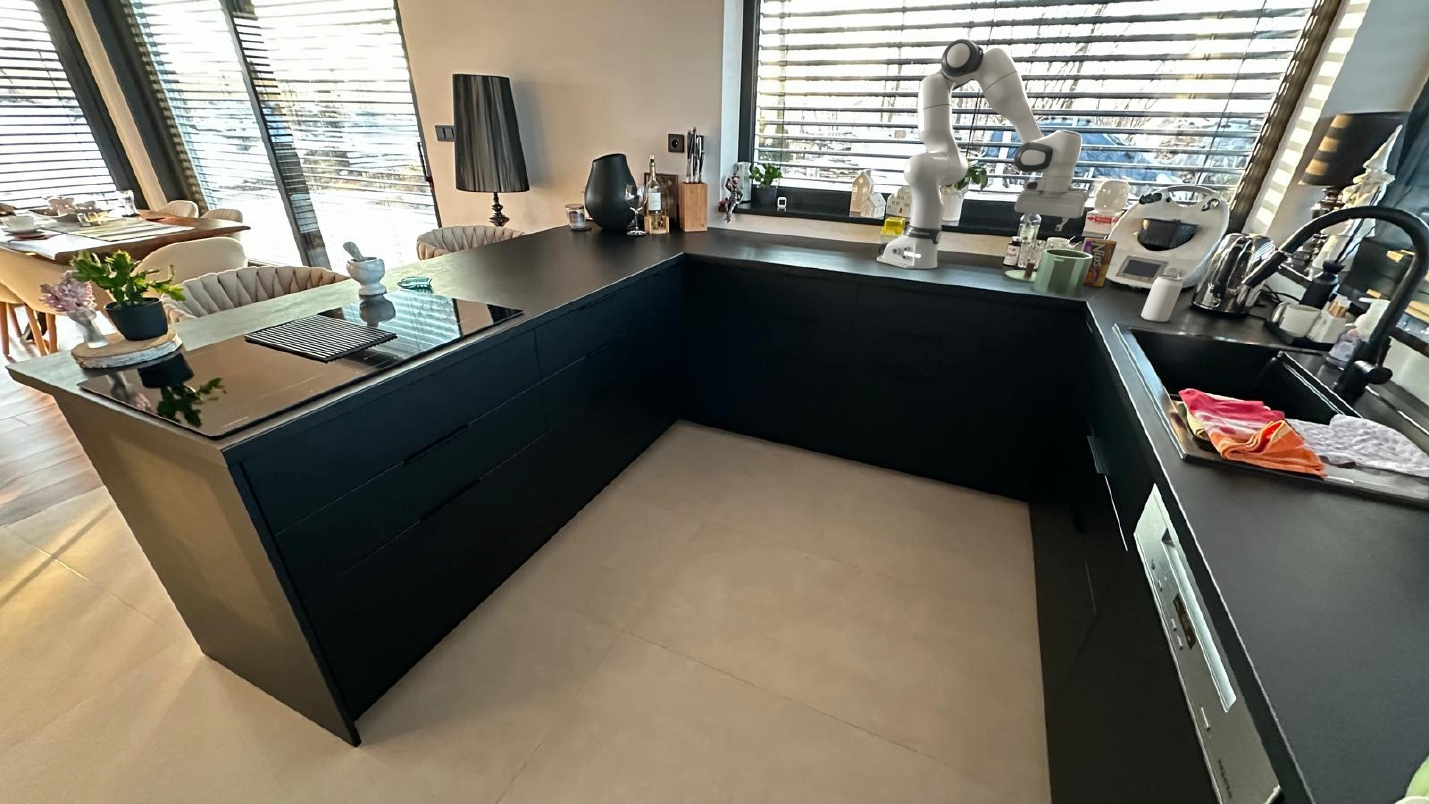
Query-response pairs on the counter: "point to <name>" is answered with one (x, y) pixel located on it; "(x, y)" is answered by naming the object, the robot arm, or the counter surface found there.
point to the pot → (1062, 272)
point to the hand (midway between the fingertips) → (1042, 229)
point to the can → (1162, 298)
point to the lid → (1023, 273)
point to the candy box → (1098, 259)
